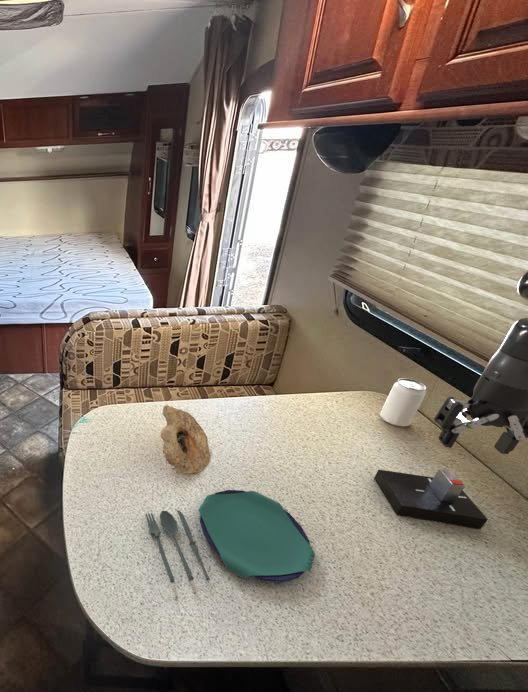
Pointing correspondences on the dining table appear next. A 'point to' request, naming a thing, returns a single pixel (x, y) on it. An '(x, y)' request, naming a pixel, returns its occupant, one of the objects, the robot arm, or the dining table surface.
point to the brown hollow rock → (184, 441)
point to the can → (403, 402)
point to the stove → (426, 500)
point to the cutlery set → (245, 536)
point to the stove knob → (446, 485)
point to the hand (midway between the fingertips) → (472, 447)
